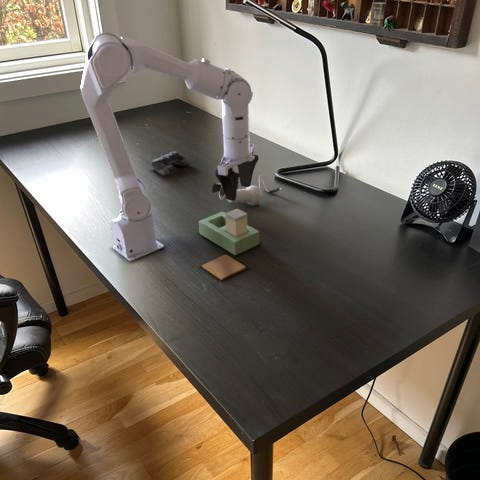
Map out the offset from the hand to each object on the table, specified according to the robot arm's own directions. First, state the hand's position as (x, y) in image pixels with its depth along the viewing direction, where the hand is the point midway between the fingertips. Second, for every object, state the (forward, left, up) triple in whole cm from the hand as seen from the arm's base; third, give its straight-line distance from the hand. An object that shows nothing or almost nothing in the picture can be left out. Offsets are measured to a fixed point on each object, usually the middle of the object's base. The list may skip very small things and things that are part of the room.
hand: (238, 192), depth 116 cm
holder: (-4, -1, -10) cm, 11 cm away
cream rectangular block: (-4, -4, -10) cm, 12 cm away
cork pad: (-13, -10, -10) cm, 19 cm away
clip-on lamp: (+14, +12, -11) cm, 21 cm away
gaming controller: (+10, +44, -11) cm, 46 cm away
